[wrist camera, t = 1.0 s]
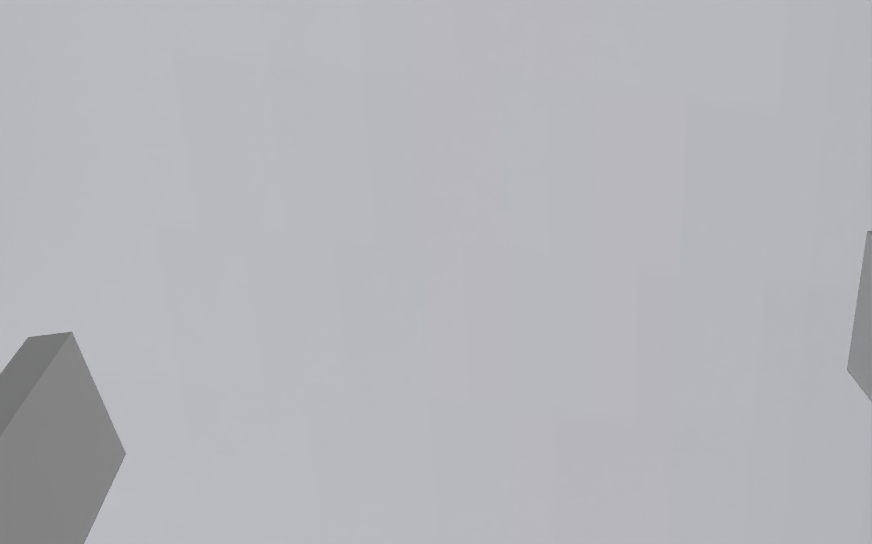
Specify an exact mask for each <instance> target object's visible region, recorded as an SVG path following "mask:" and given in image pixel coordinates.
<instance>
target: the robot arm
mask: <svg viewBox="0 0 872 544" xmlns="http://www.w3.org/2000/svg"><path fill="white" fill-rule="evenodd" d="M847 370H848V372H849V373H850V374H851V376H852V377H853V378H854V380H855V381H856V382H857V383H858V385H859V386H860V387H861V389H862V390H863V391H864V393H865V394H866V395H867V396H868V398H869V399H870V400H871V402H872V231H867V237H866V243H865V250H864V257H863V264H862V271H861V277H860V284H859V291H858V298H857V305H856V312H855V318H854V325H853V332H852V339H851V346H850V352H849V359H848V366H847ZM125 455H126V453H125V451H124V448H123V446H122V444H121V442H120V439H119V437H118V435H117V433H116V430H115V428H114V426H113V424H112V421H111V419H110V417H109V414H108V412H107V410H106V408H105V405H104V403H103V401H102V399H101V396H100V394H99V392H98V390H97V387H96V385H95V383H94V381H93V378H92V376H91V374H90V371H89V369H88V367H87V365H86V362H85V360H84V358H83V356H82V353H81V351H80V349H79V347H78V344H77V342H76V340H75V337H74V335H73V333H72V332H66V333H58V334H50V335H42V336H34V337H28V338H27V340H26V341H25V342H24V344H23V345H22V346H21V347H20V349H19V350H18V351H17V353H16V354H15V355H14V357H13V358H12V359H11V361H10V362H9V363H8V365H7V366H6V367H5V369H4V370H3V371H2V372H1V374H0V544H84V542H85V540H86V538H87V536H88V534H89V532H90V530H91V527H92V525H93V523H94V521H95V519H96V517H97V515H98V512H99V510H100V508H101V506H102V504H103V502H104V500H105V497H106V495H107V493H108V491H109V489H110V487H111V485H112V483H113V480H114V478H115V476H116V474H117V472H118V470H119V468H120V465H121V463H122V461H123V459H124V457H125Z"/></svg>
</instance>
